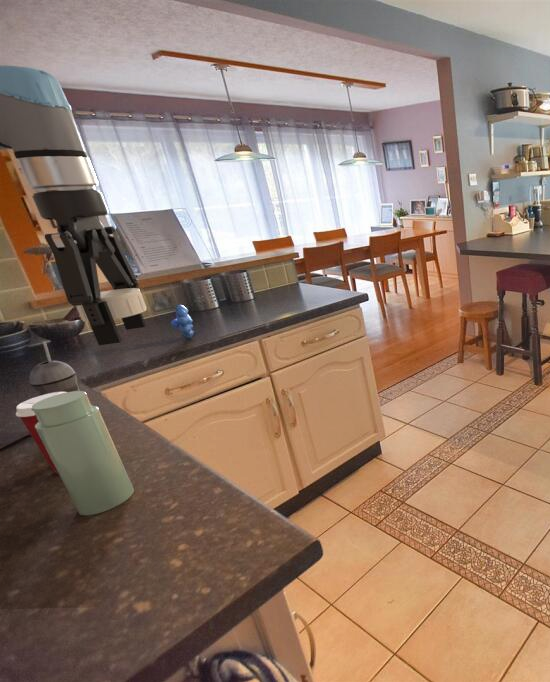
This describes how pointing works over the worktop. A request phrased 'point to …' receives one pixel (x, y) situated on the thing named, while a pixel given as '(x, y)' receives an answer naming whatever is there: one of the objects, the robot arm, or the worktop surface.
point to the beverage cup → (53, 376)
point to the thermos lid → (120, 303)
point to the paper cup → (34, 422)
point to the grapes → (183, 322)
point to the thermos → (82, 452)
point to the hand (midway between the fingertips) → (124, 334)
